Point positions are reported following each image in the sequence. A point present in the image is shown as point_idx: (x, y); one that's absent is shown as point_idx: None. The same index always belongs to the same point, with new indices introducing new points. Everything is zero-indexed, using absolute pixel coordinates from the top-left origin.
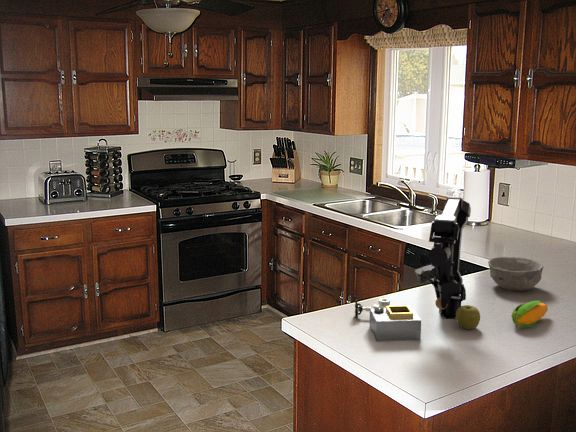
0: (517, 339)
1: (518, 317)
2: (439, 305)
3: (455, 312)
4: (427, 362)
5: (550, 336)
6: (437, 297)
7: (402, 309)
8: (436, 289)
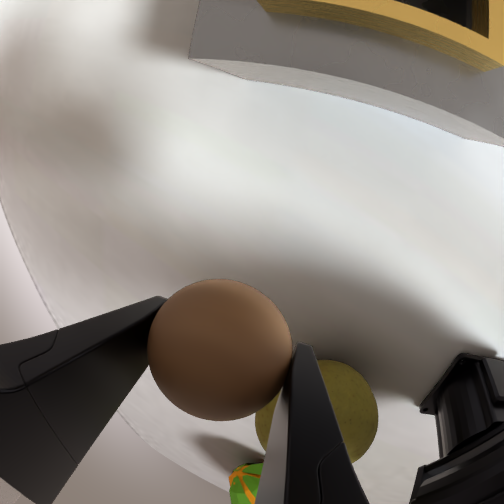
0: (186, 415)
1: (236, 482)
2: (172, 296)
3: (440, 407)
4: (57, 56)
5: (197, 459)
6: (287, 390)
7: (474, 12)
8: (283, 497)
